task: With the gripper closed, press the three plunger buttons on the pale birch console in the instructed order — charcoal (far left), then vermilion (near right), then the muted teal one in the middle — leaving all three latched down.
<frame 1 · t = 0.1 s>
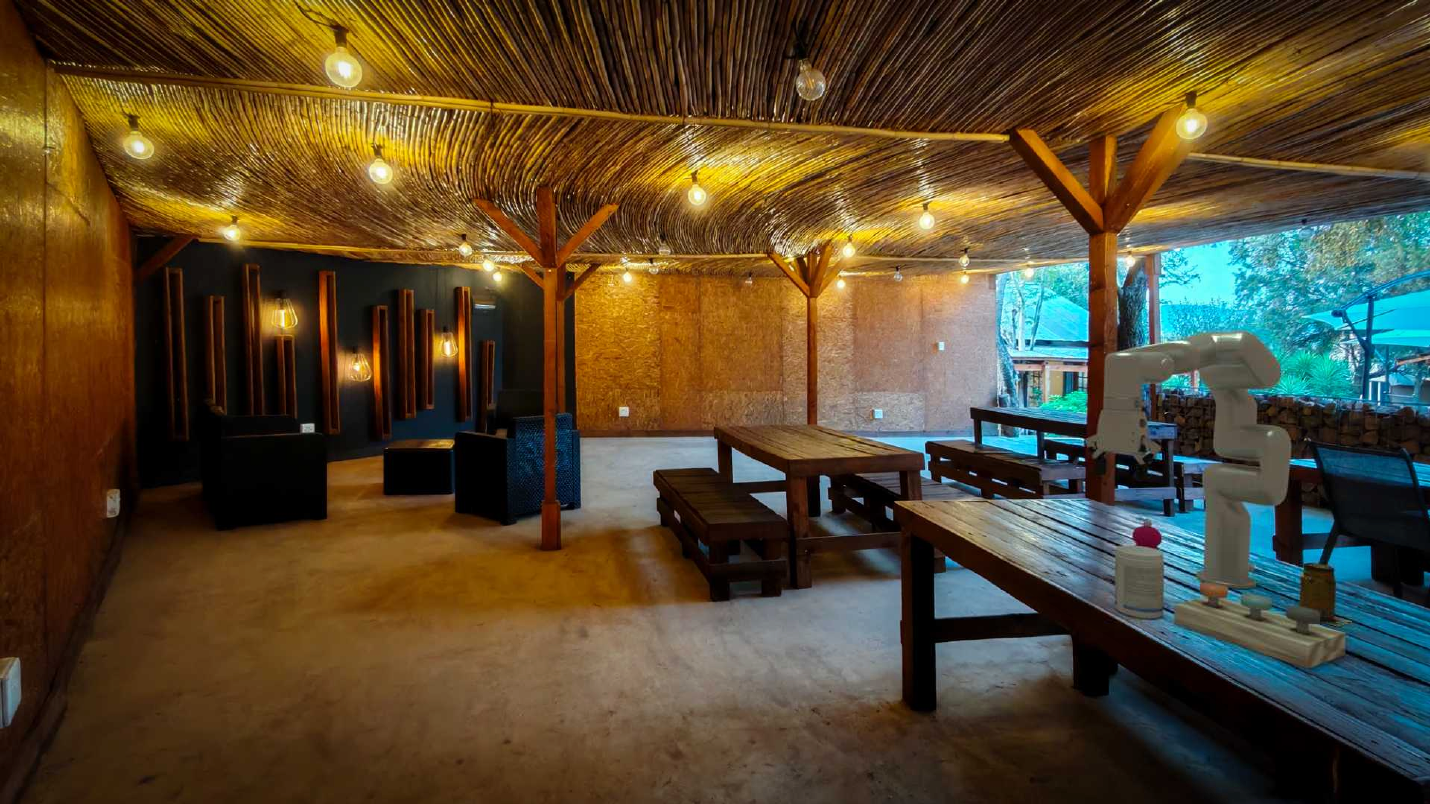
hand: (1120, 477, 154), 31 cm above the table, fingers open, 9 cm apart
condiment: (1320, 619, 149), on the table
button vermilion: (1213, 597, 145), point 6 cm above the table, slide at 0.0 cm
button teal: (1255, 609, 138), point 6 cm above the table, slide at 0.0 cm
button charcoal: (1302, 623, 131), point 6 cm above the table, slide at 0.0 cm
supplement tub: (1137, 613, 153), on the table
console: (1254, 638, 138), on the table
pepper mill: (1144, 601, 161), on the table
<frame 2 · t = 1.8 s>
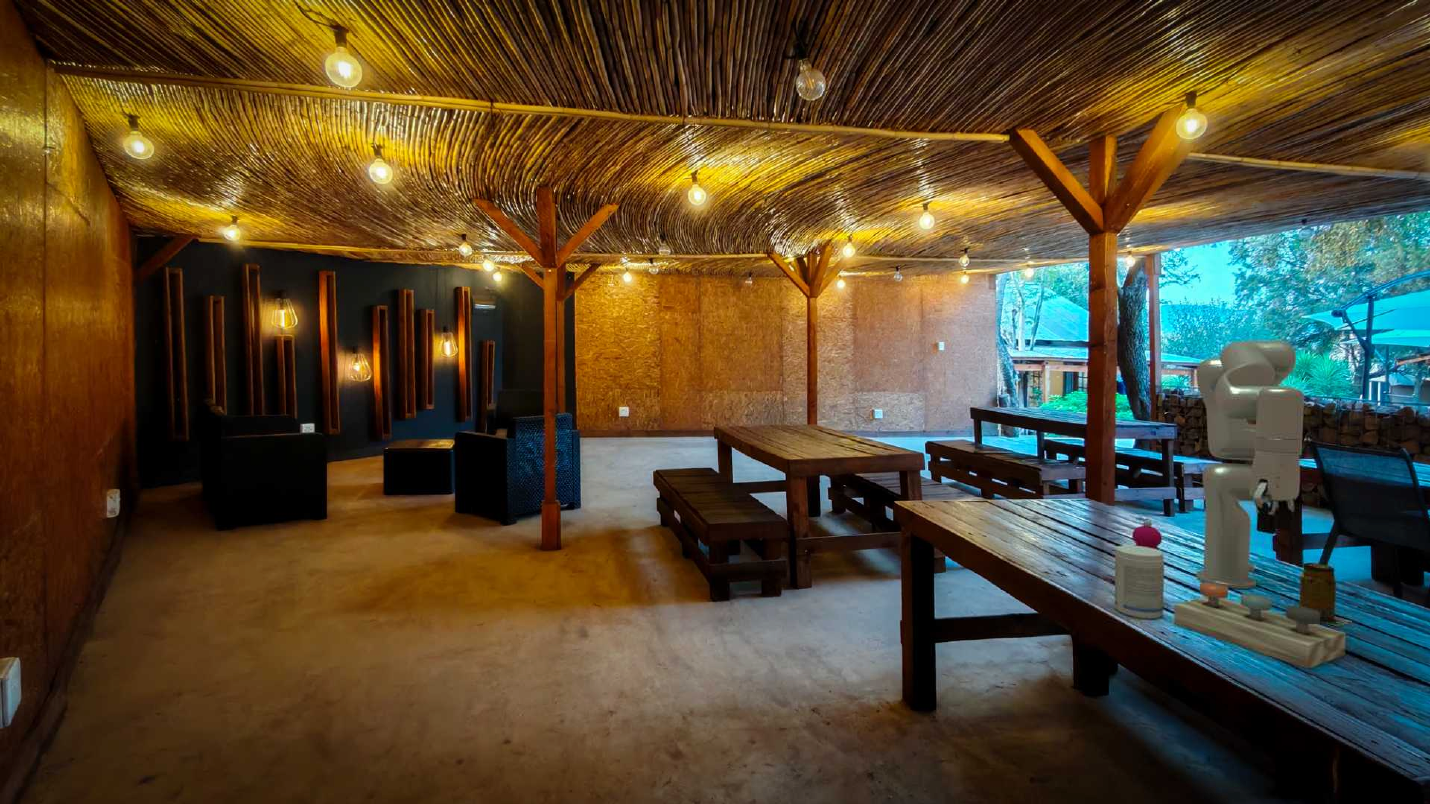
hand: (1274, 530, 140), 23 cm above the table, fingers open, 5 cm apart
nothing on the table moved.
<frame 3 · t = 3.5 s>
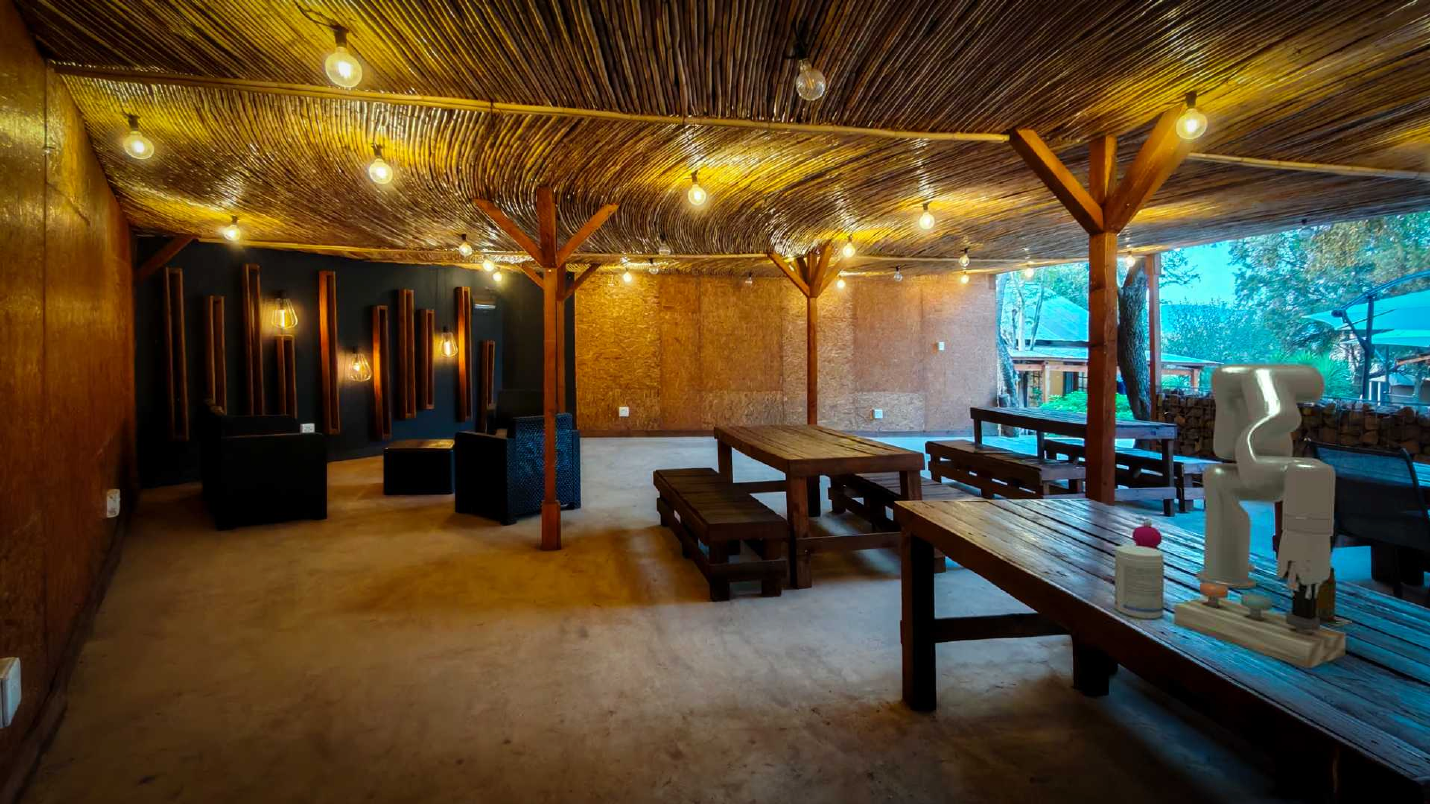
hand: (1303, 616, 130), 8 cm above the table, fingers closed
button charcoal: (1302, 628, 131), point 5 cm above the table, slide at 1.1 cm, touching gripper
everything else where it was.
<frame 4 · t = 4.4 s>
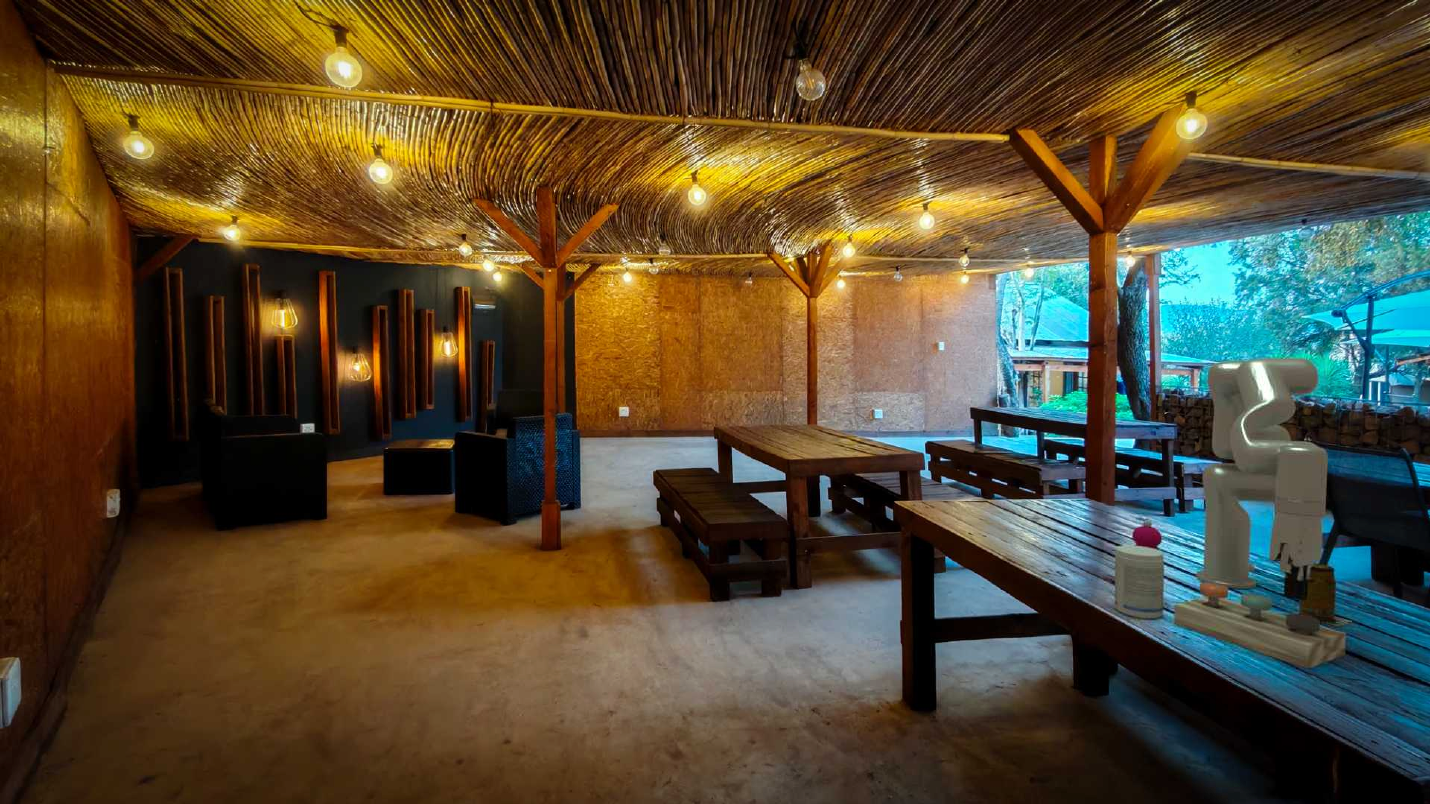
hand: (1295, 597, 132), 11 cm above the table, fingers closed
button charcoal: (1302, 630, 131), point 5 cm above the table, slide at 1.5 cm
everything else where it was.
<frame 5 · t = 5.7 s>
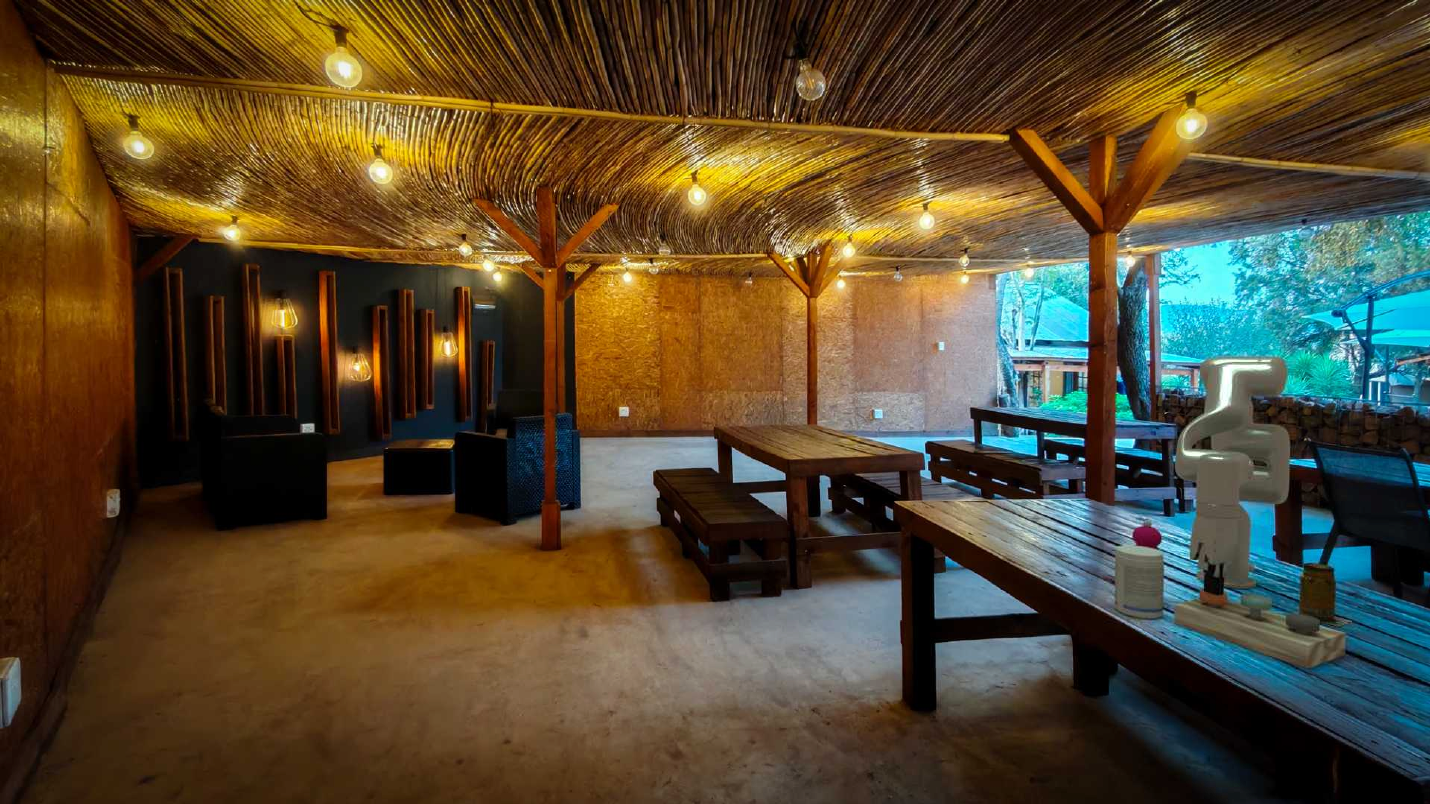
hand: (1213, 593, 145), 7 cm above the table, fingers closed
button vermilion: (1213, 604, 145), point 5 cm above the table, slide at 1.5 cm, touching gripper
everything else where it was.
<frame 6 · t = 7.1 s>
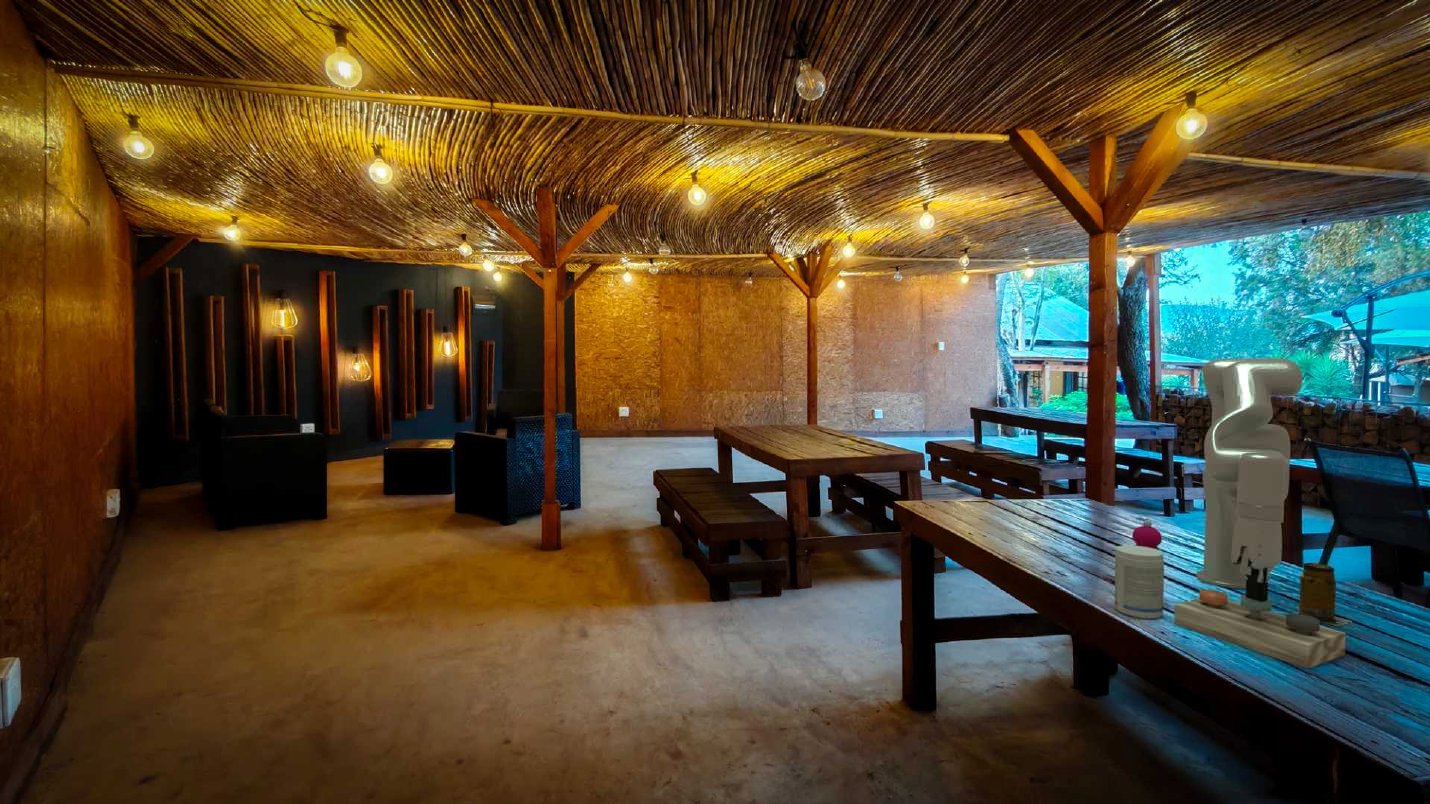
hand: (1256, 599, 137), 9 cm above the table, fingers closed
button vermilion: (1213, 604, 145), point 5 cm above the table, slide at 1.6 cm
button teal: (1255, 610, 138), point 6 cm above the table, slide at 0.2 cm, touching gripper
everything else where it was.
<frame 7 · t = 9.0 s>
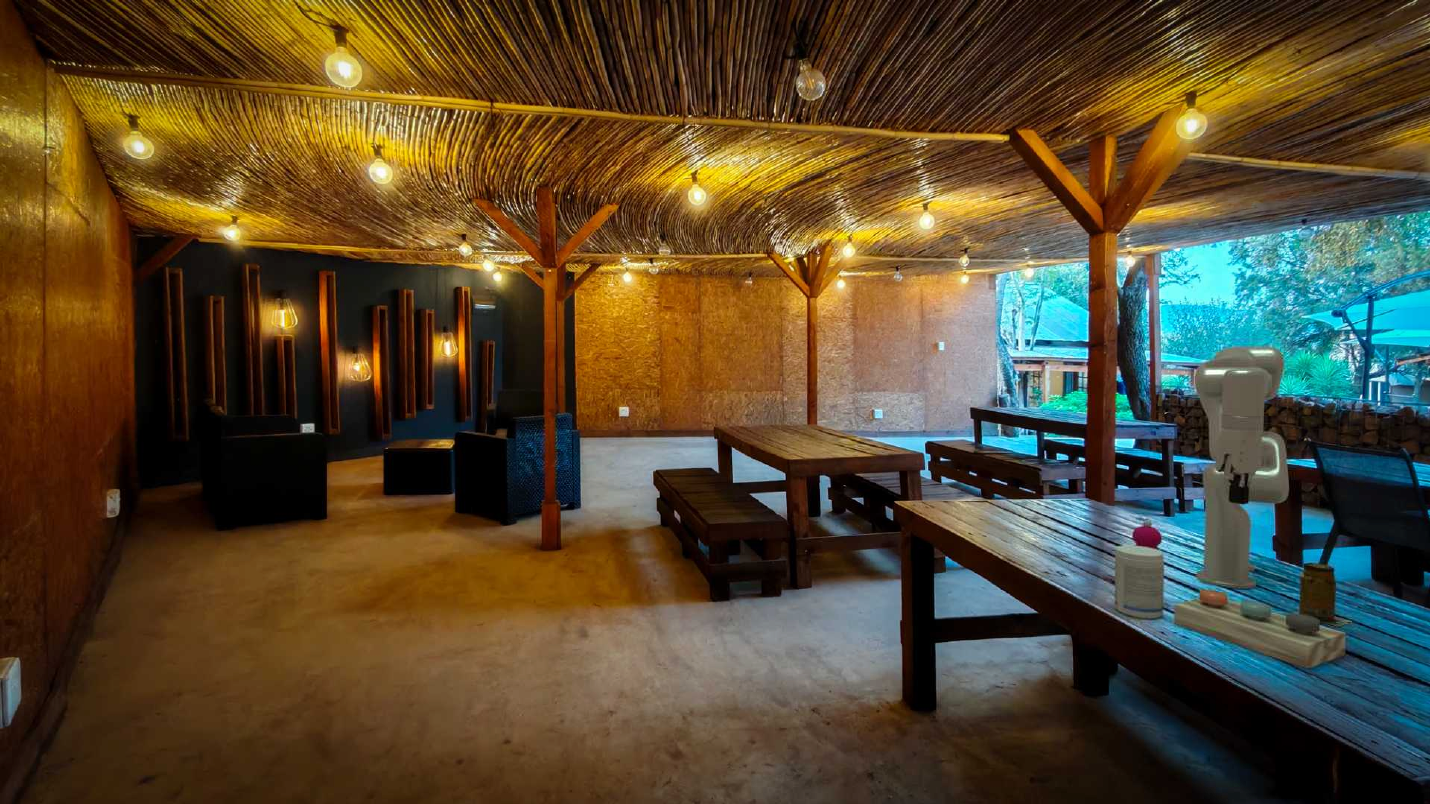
hand: (1238, 502, 151), 26 cm above the table, fingers closed
button teal: (1255, 616, 138), point 5 cm above the table, slide at 1.5 cm
everything else where it was.
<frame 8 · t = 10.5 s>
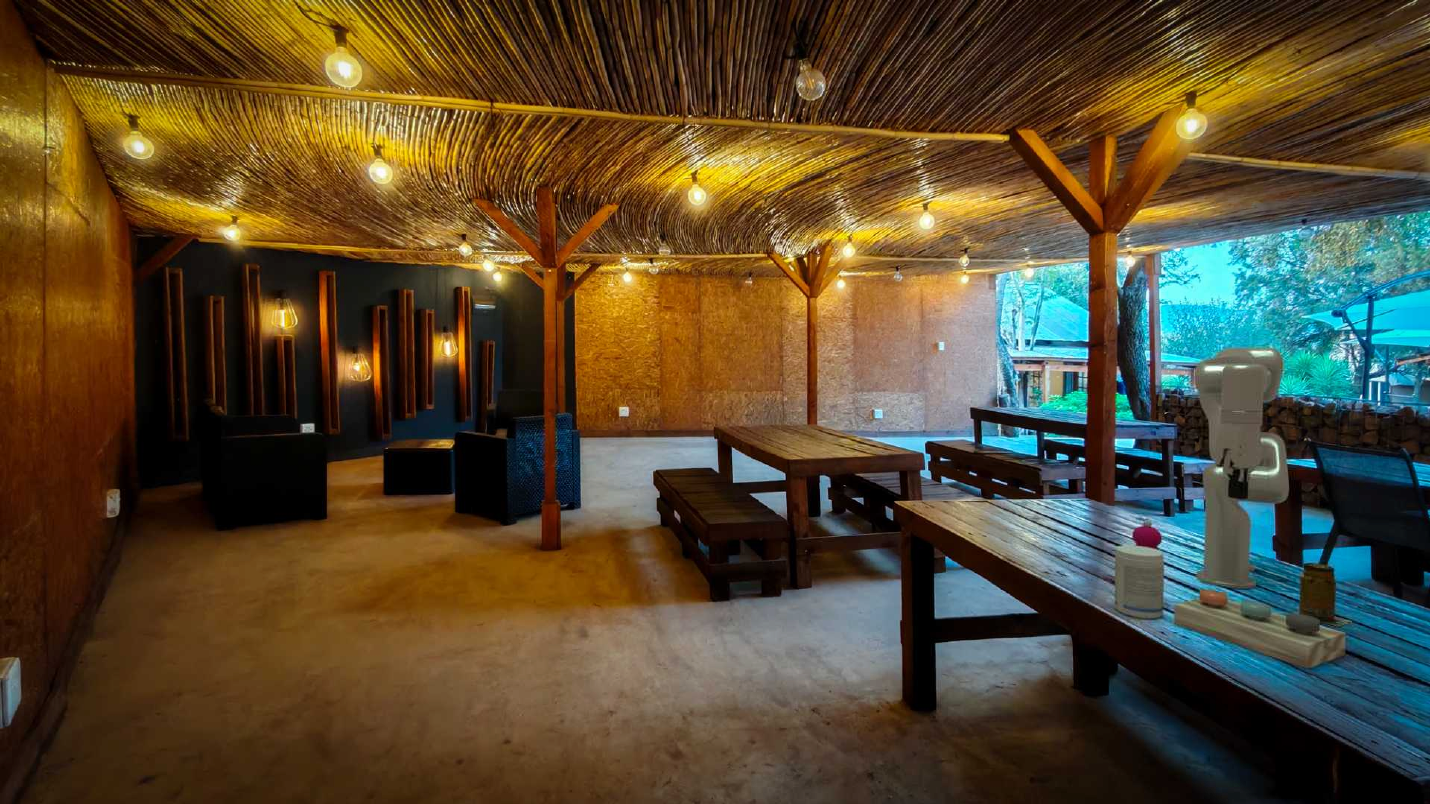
hand: (1237, 498, 151), 27 cm above the table, fingers closed
nothing on the table moved.
at the end: button charcoal slide at 1.5 cm; button vermilion slide at 1.6 cm; button teal slide at 1.5 cm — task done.
